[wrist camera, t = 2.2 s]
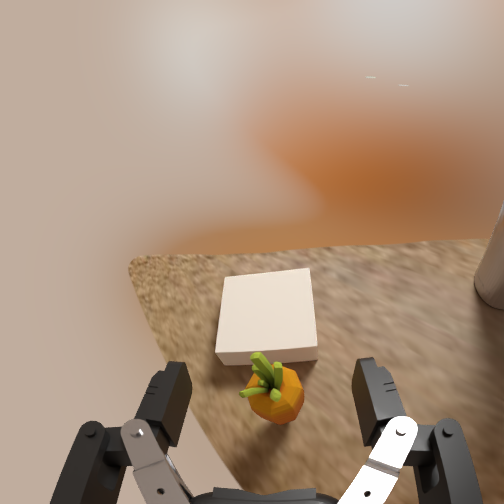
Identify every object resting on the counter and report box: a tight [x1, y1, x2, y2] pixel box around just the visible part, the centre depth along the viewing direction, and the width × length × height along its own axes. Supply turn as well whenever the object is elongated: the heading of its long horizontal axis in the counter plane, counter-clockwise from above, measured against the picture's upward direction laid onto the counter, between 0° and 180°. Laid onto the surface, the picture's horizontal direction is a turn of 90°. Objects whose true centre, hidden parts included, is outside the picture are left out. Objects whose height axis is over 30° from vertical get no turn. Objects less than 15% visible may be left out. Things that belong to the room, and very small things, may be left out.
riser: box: [215, 268, 318, 365], centre depth 37 cm, size 12×12×4 cm
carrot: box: [239, 352, 304, 425], centre depth 23 cm, size 5×5×15 cm
